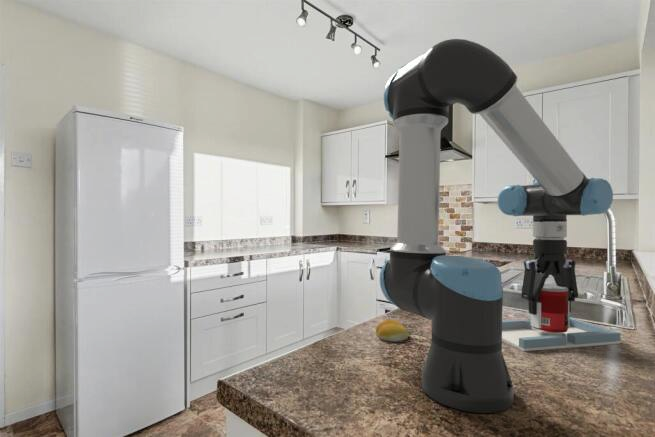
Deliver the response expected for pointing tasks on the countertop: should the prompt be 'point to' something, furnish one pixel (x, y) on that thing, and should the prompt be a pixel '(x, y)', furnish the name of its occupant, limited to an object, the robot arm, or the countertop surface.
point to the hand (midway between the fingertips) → (549, 325)
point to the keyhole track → (556, 335)
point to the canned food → (554, 308)
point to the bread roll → (391, 331)
